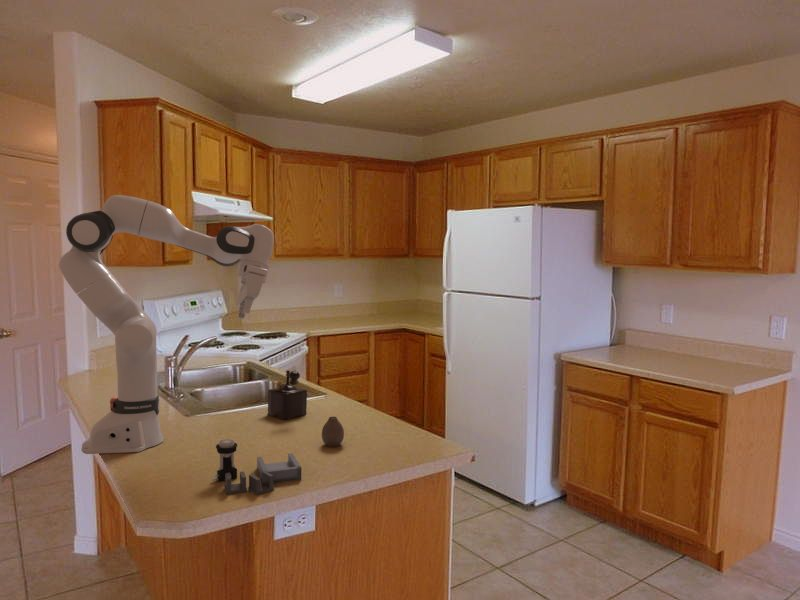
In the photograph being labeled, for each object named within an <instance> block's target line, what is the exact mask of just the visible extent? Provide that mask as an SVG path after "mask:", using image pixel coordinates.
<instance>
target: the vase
mask: <svg viewBox="0 0 800 600" xmlns="http://www.w3.org/2000/svg"><path fill="white" fill-rule="evenodd" d="M344 437H345V431H344V427H343V425H342V423H341V422H340V421H339V419H338V416H330V417H328V419H327V421H326V423H324V424H323V427H322V429H321V439H322V442H323V443H324V445H325V446H327V447H329V448H336V447H339V446H340V445H341V444H342V443H343V441H344Z"/></svg>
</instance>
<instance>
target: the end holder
mask: <svg viewBox="0 0 800 600" xmlns="http://www.w3.org/2000/svg"><path fill="white" fill-rule="evenodd" d="M287 457H288V458H287V461H281V462H280V461H279V462H270V463H265V461H264V460H263V459H264V458H263V457H262V456H257V457H256V469H257V472H258V474H259V478H260V480H262V472H263V471H267V472H268V473H270V474H272V475H273V484H278V483H286V482H294V481H300V480H302V466H301V465H300V463H299V462H298V460H297V458H296V456H295V454H294V453H288V456H287Z"/></svg>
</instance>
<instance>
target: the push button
mask: <svg viewBox="0 0 800 600" xmlns="http://www.w3.org/2000/svg"><path fill="white" fill-rule="evenodd" d="M215 448H216V451H217V453H218V454H219V467H218V468H217V469H216V474H215V475H214V474H213V475H211V481H213V482H214V481H219V482H224V481H225V474H226V473H230V477H231V480H233V479H234V480H235V479H237V478H238V469H237V467H235V464H234V463H235V461H234V460H235V459H234V457H235V452H236V451H237V448H238V443H236V442H235V441H234V440H233V439H229V438H228V439H227V438H226V439H222V440H220V441H219V442H218V443H217V444H216V445H215Z"/></svg>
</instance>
